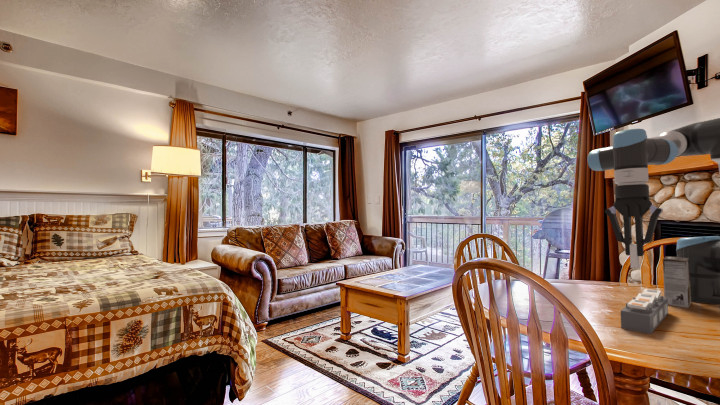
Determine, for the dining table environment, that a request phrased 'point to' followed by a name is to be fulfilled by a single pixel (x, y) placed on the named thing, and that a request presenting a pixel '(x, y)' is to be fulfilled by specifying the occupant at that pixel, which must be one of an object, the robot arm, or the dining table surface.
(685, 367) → the dining table surface
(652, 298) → the rocker middle
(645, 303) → the rocker front
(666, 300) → the power strip
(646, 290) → the rocker back
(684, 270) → the coffee box
